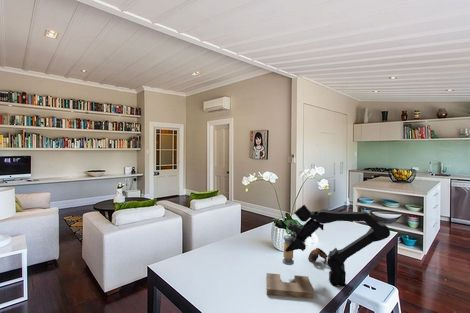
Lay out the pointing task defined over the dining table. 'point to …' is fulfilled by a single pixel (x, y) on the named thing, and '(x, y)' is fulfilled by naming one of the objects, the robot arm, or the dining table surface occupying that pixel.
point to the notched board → (289, 286)
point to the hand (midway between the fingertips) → (285, 249)
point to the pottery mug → (316, 253)
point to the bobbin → (288, 255)
